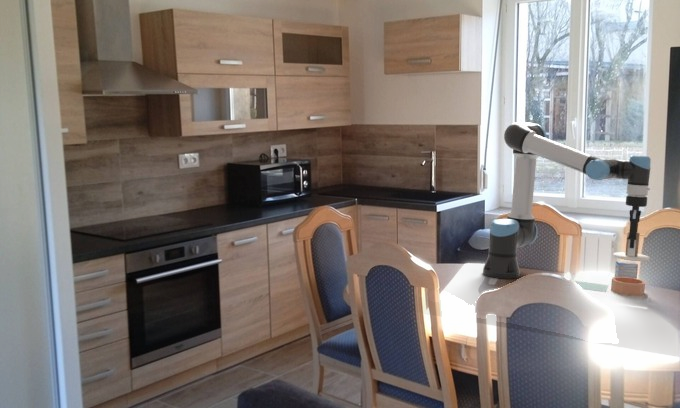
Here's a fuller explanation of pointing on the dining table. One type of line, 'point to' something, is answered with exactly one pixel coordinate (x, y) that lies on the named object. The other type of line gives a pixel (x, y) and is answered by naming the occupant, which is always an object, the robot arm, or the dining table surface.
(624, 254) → the lid
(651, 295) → the dining table surface
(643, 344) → the dining table surface
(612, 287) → the bowl
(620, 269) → the medicine box
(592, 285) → the trivet
